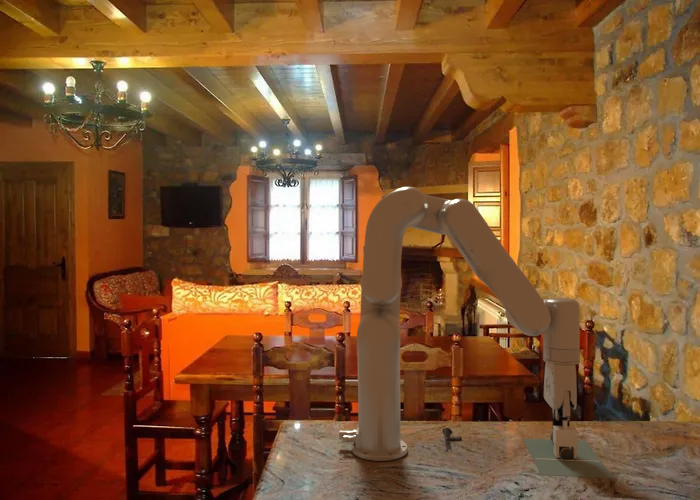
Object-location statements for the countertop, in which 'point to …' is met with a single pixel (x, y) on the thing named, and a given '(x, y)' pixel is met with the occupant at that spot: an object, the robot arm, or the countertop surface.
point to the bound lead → (564, 451)
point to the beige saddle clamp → (565, 438)
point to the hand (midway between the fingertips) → (560, 437)
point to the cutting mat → (576, 467)
